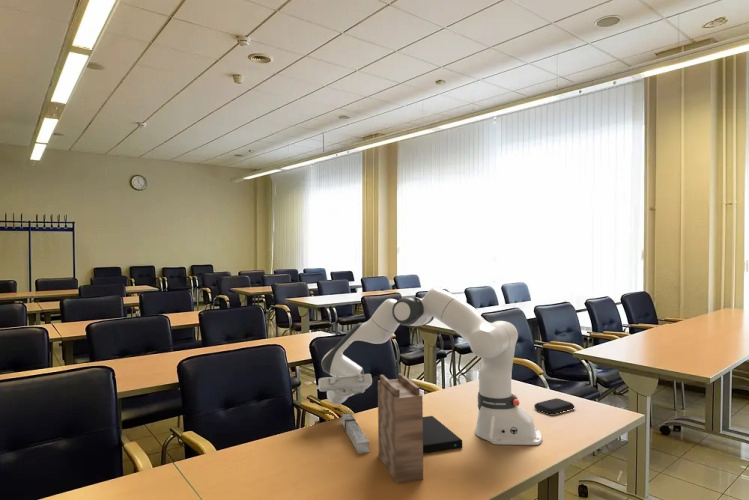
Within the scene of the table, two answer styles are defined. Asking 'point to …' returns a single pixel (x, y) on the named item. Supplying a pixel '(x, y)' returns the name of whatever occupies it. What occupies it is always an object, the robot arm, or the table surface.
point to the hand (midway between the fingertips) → (348, 376)
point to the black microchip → (554, 406)
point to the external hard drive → (438, 436)
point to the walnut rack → (400, 428)
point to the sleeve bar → (355, 433)
